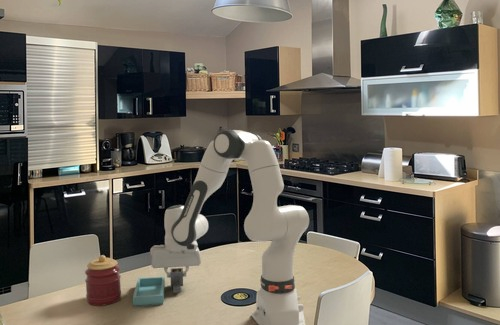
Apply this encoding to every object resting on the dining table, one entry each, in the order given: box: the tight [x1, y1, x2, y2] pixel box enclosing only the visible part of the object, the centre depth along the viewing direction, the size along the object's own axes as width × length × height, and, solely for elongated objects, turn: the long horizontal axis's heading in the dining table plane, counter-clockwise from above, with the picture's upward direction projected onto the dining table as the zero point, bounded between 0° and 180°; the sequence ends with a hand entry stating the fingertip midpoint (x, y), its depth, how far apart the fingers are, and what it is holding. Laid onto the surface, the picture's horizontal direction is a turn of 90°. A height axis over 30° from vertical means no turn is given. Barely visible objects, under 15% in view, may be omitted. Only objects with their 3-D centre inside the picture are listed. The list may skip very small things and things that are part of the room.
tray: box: [132, 276, 166, 308], centre depth 181 cm, size 20×11×4 cm, turn 8°
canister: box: [84, 254, 122, 306], centre depth 176 cm, size 13×13×18 cm
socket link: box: [169, 267, 184, 293], centre depth 185 cm, size 11×5×6 cm, turn 8°
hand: (176, 276), depth 189 cm, fingers closed on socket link, 5 cm apart
